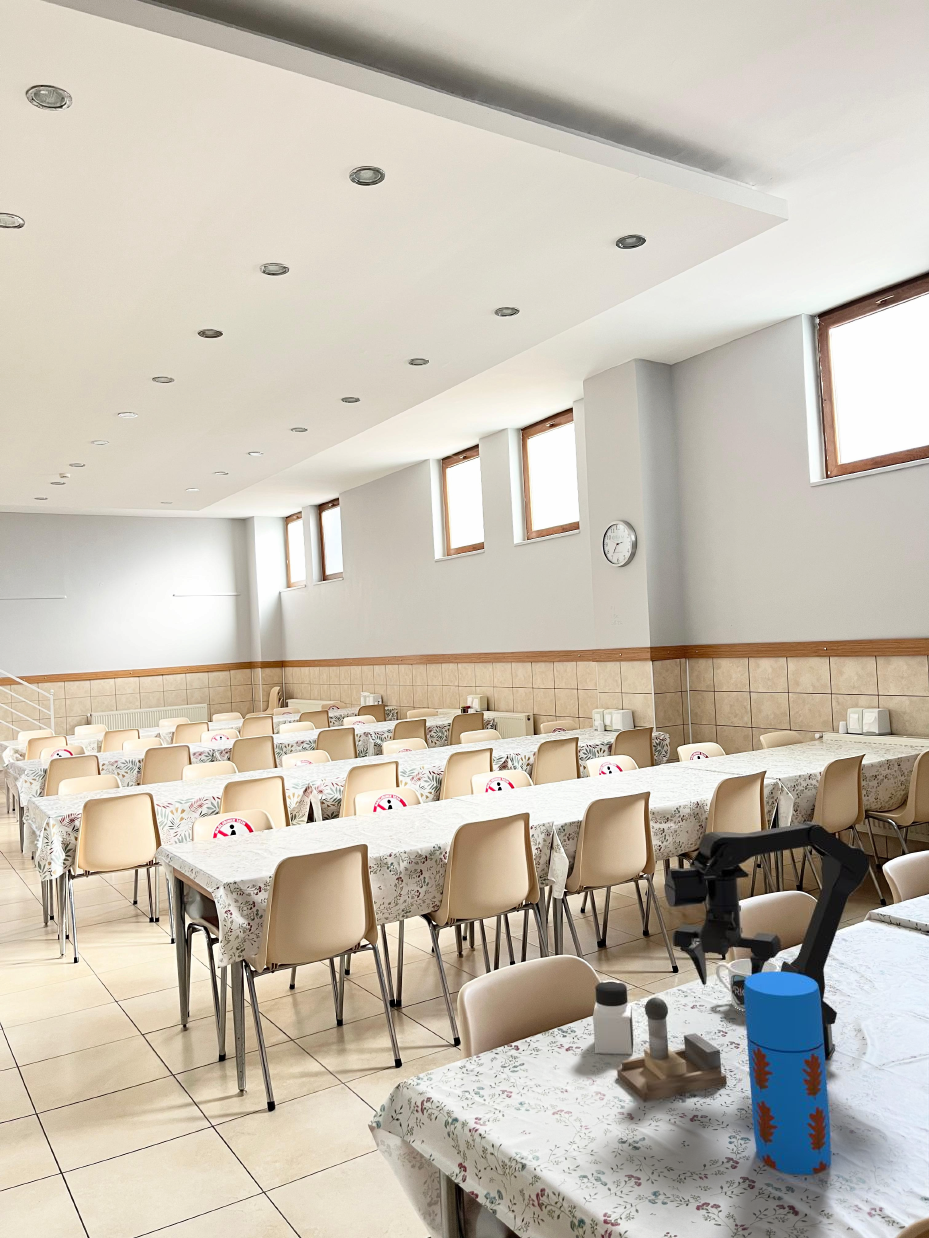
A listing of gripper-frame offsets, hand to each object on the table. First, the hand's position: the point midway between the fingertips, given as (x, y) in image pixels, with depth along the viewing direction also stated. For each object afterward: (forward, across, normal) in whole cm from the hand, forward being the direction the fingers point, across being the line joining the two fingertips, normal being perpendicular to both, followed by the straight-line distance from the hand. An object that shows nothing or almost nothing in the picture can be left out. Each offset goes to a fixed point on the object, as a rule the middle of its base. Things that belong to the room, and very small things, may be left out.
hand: (728, 987), depth 167 cm
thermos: (+13, +17, -28) cm, 35 cm away
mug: (+13, -5, +28) cm, 31 cm away
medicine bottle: (+13, -22, -4) cm, 26 cm away
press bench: (+13, -8, -14) cm, 20 cm away
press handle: (+11, -8, -14) cm, 20 cm away
